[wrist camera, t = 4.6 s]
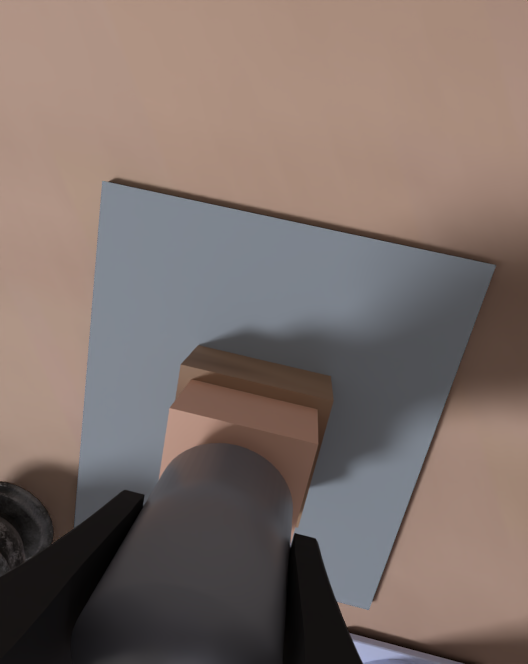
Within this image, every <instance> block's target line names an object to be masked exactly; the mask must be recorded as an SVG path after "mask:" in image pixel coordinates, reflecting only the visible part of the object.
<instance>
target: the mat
mask: <svg viewBox="0 0 528 664" xmlns="http://www.w3.org/2000/svg"><path fill="white" fill-rule="evenodd" d="M495 267H496V265H493V264H489V263H484V262H479V261H475V260H470V259H465V258H461V257H456V256H451V255H447V254H442V253H437V252H433V251H428V250H423V249H419V248H414V247H409V246H405V245H400V244H395V243H391V242H386V241H381V240H377V239H372V238H367V237H363V236H358V235H353V234H349V233H344V232H339V231H335V230H330V229H325V228H321V227H316V226H311V225H307V224H302V223H297V222H293V221H288V220H283V219H279V218H274V217H269V216H265V215H260V214H255V213H251V212H246V211H241V210H237V209H232V208H227V207H223V206H218V205H213V204H209V203H204V202H199V201H195V200H190V199H185V198H181V197H176V196H171V195H167V194H162V193H157V192H153V191H148V190H143V189H139V188H134V187H129V186H125V185H120V184H115V183H111V182H106V181H102V192H101V204H100V216H99V228H98V240H97V253H96V265H95V277H94V289H93V301H92V313H91V326H90V338H89V350H88V362H87V374H86V386H85V399H84V411H83V423H82V435H81V447H80V459H79V471H78V484H77V496H76V508H75V520H74V528H75V527H76V526H78V525H79V524H81V523H82V522H83V521H85V520H86V519H87V518H89V517H90V516H91V515H92V514H94V513H95V512H96V511H98V510H99V509H100V508H101V507H103V506H104V505H105V504H106V503H108V502H109V501H110V500H111V499H113V498H114V497H115V496H116V495H117V494H119V493H120V492H121V491H123V490H129V491H132V492H136V493H140V494H144V495H145V496H144V503H143V506H144V504H145V503H146V501H147V499H148V498H149V496H150V494H151V492H152V491H153V489H154V487H155V486H156V484H157V482H158V481H159V474H160V468H161V461H162V454H163V448H164V441H165V434H166V428H167V421H168V415H169V408H170V407H171V405H172V404H173V403H174V401H175V397H176V391H177V384H178V378H179V371H180V365H181V363H182V362H183V361H184V360H185V359H186V358H187V357H188V356H189V355H190V353H191V352H192V351H193V350H194V349H195V348H196V347H197V346H198V345H200V346H204V347H209V348H213V349H217V350H221V351H226V352H230V353H234V354H239V355H243V356H247V357H251V358H256V359H260V360H264V361H268V362H273V363H277V364H281V365H286V366H290V367H294V368H298V369H303V370H307V371H311V372H315V373H320V374H324V375H328V376H331V381H332V390H333V399H334V401H333V405H332V409H331V412H330V416H329V419H328V423H327V426H326V430H325V434H324V437H323V441H322V444H321V448H320V451H319V455H318V459H317V462H316V466H315V469H314V473H313V476H312V480H311V484H310V487H309V491H308V494H307V498H306V501H305V505H304V509H303V512H302V516H301V519H300V523H299V526H298V528H297V527H295V530H294V533H297V534H301V535H305V536H309V537H312V538H316V540H317V541H318V544H319V548H320V552H321V556H322V559H323V562H324V566H325V569H326V572H327V575H328V578H329V581H330V584H331V587H332V590H333V593H334V596H335V598H336V601H337V602H340V603H344V604H348V605H352V606H355V607H359V608H363V609H367V610H369V608H370V605H371V603H372V600H373V597H374V595H375V592H376V589H377V587H378V584H379V581H380V578H381V576H382V573H383V570H384V568H385V565H386V562H387V559H388V557H389V554H390V551H391V549H392V546H393V543H394V540H395V538H396V535H397V532H398V530H399V527H400V524H401V522H402V519H403V516H404V513H405V511H406V508H407V505H408V503H409V500H410V497H411V494H412V492H413V489H414V486H415V484H416V481H417V478H418V475H419V473H420V470H421V467H422V465H423V462H424V459H425V457H426V454H427V451H428V448H429V446H430V443H431V440H432V438H433V435H434V432H435V429H436V427H437V424H438V421H439V419H440V416H441V413H442V410H443V408H444V405H445V402H446V400H447V397H448V394H449V392H450V389H451V386H452V383H453V381H454V378H455V375H456V373H457V370H458V367H459V364H460V362H461V359H462V356H463V354H464V351H465V348H466V345H467V343H468V340H469V337H470V335H471V332H472V329H473V327H474V324H475V321H476V318H477V316H478V313H479V310H480V308H481V305H482V302H483V299H484V297H485V294H486V291H487V289H488V286H489V283H490V280H491V278H492V275H493V272H494V270H495ZM293 537H294V534H293ZM292 540H293V538H292ZM291 544H292V541H291ZM290 547H291V545H290Z"/></svg>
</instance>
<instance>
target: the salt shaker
mask: <svg viewBox="0 0 528 664" xmlns="http://www.w3.org/2000/svg"><path fill="white" fill-rule="evenodd" d="M52 539H53V526H52V521H51V519H50V516H49V514H48V512H47V510H46V509H45V508H44V506H43V505H42V504H41V502H40V501H39V500H38V499H36V498H35V497H34V496H33V495H32V494H31V493H29V492H28V491H26V490H24V489H22V488H20V487H19V486H16V485H12V484H9V483H5V482H0V577H1V576H2V575H4V574H6V573H7V572H9V571H11V570H12V569H14V568H16V567H17V566H19V565H21V564H22V563H24V562H25V561H27V560H29V559H30V558H32V557H33V556H35V555H36V554H38V553H39V552H41V551H42V550H44V549H45V548H47V547H48V546H50V545H51V543H52Z"/></svg>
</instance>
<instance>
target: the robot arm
mask: <svg viewBox="0 0 528 664" xmlns="http://www.w3.org/2000/svg"><path fill="white" fill-rule="evenodd" d="M144 496H145V495H144V494H140V493H136V492H132V491H129V490H123V491H121V492H120V493H119V494H117V495H116V496H115V497H114V498H113V499H111V500H110V501H109V502H108V503H106V504H105V505H104V506H103V507H101V508H100V509H99V510H98V511H96V512H95V513H94V514H92V515H91V516H90V517H89V518H87V519H86V520H85V521H83V522H82V523H81V524H79V525H78V526H76V527H75V528H74V529H72V530H71V531H70V532H68V533H67V534H66V535H64V536H63V537H61V538H60V539H59V540H57V541H56V542H54V543H53V544H51V545H50V546H48V547H47V548H45V549H44V550H42V551H41V552H39V553H38V554H36V555H35V556H33V557H32V558H30V559H29V560H27V561H25V562H24V563H22V564H21V565H19V566H17V567H16V568H14V569H12V570H11V571H9V572H7V573H6V574H4V575H2V576H1V577H0V664H73V662H72V657H71V650H70V648H71V636H72V631H73V628H74V626H75V623H76V621H77V619H78V617H79V616H80V614H81V612H82V610H83V609H84V607H85V605H86V604H87V602H88V600H89V598H90V597H91V595H92V593H93V592H94V590H95V588H96V586H97V585H98V583H99V581H100V580H101V578H102V576H103V575H104V573H105V571H106V569H107V568H108V566H109V564H110V563H111V561H112V559H113V557H114V556H115V554H116V552H117V551H118V549H119V547H120V545H121V544H122V542H123V540H124V539H125V537H126V535H127V533H128V532H129V530H130V528H131V527H132V525H133V523H134V522H135V520H136V518H137V516H138V515H139V513H140V511H141V510H142V508H143V503H144ZM283 664H464V663H460V662H456V661H453V660H449V659H445V658H441V657H438V656H434V655H430V654H426V653H423V652H419V651H415V650H412V649H408V648H404V647H400V646H397V645H393V644H389V643H385V642H382V641H378V640H374V639H370V638H367V637H363V636H359V635H356V634H352V633H349V631H348V629H347V626H346V624H345V621H344V619H343V617H342V614H341V611H340V609H339V606H338V603H337V601H336V598H335V596H334V593H333V590H332V587H331V584H330V581H329V578H328V575H327V572H326V569H325V566H324V562H323V559H322V556H321V552H320V548H319V544H318V541H317V540H316V538H312V537H309V536H305V535H301V534H297V533H294V537H293V540H292V544H291V547H290V560H289V574H288V590H287V605H286V619H285V634H284V649H283Z"/></svg>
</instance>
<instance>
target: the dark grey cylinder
mask: <svg viewBox="0 0 528 664" xmlns="http://www.w3.org/2000/svg"><path fill="white" fill-rule="evenodd" d="M292 516H293V502H292V497H291V493H290V490H289V487H288V485H287V483H286V481H285V480H284V478H283V476H282V475H281V474H280V472H279V471H278V470H277V469H276V468H275V467H274V466H273V465H272V464H271V463H270V462H269V461H268V460H266V459H265V458H264V457H262V456H261V455H259V454H257V453H256V452H253V451H251V450H249V449H247V448H244V447H241V446H237V445H233V444H226V443H209V444H202V445H199V446H195V447H192V448H190V449H188V450H186V451H184V452H182V453H181V454H179V455H178V456H177V457H175V458H174V459H173V460H172V461H171V462H170V463H169V465H168V466H167V467H166V469H165V470H164V472H163V474H162V475H161V477H160V479H159V481H158V482H157V484H156V486H155V487H154V489H153V491H152V492H151V494H150V496H149V498H148V499H147V501H146V503H145V504H144V506H143V508H142V510H141V511H140V513H139V515H138V516H137V518H136V520H135V522H134V523H133V525H132V527H131V528H130V530H129V532H128V533H127V535H126V537H125V539H124V540H123V542H122V544H121V545H120V547H119V549H118V551H117V552H116V554H115V556H114V557H113V559H112V561H111V563H110V564H109V566H108V568H107V569H106V571H105V573H104V575H103V576H102V578H101V580H100V581H99V583H98V585H97V586H96V588H95V590H94V592H93V593H92V595H91V597H90V598H89V600H88V602H87V604H86V605H85V607H84V609H83V610H82V612H81V614H80V616H79V617H78V619H77V621H76V623H75V626H74V628H73V631H72V636H71V648H70V650H71V657H72V662H73V664H283V649H284V634H285V619H286V605H287V590H288V574H289V560H290V545H291V530H292Z"/></svg>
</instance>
